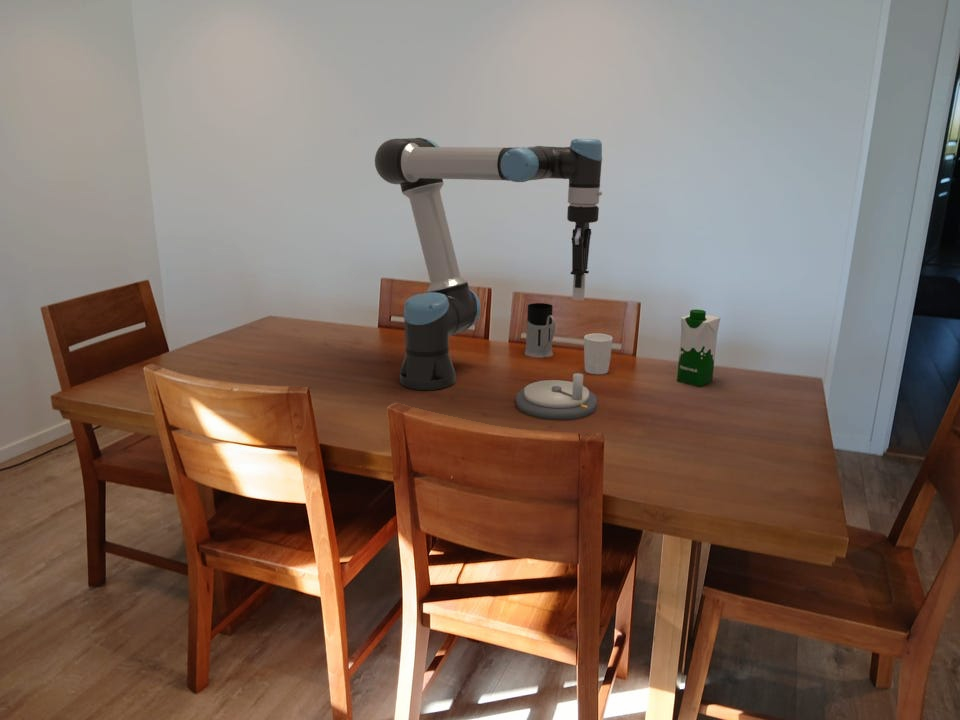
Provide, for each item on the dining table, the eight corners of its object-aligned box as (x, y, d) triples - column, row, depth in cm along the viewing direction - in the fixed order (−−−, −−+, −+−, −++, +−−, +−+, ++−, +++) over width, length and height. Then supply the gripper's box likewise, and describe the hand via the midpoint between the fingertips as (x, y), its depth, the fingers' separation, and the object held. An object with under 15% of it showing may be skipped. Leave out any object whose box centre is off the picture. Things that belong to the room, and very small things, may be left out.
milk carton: (672, 381, 198) (678, 310, 192) (688, 373, 205) (694, 304, 199) (701, 388, 193) (709, 315, 187) (717, 380, 199) (725, 309, 193)
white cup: (610, 376, 202) (612, 341, 199) (581, 374, 204) (583, 340, 201) (611, 367, 210) (613, 334, 207) (583, 365, 211) (585, 332, 208)
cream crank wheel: (510, 394, 182) (511, 366, 179) (556, 381, 191) (557, 354, 189) (556, 413, 170) (557, 383, 167) (602, 398, 179) (604, 369, 177)
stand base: (506, 413, 175) (506, 405, 174) (527, 387, 193) (527, 379, 193) (588, 424, 169) (589, 415, 168) (602, 395, 187) (603, 387, 187)
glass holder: (545, 348, 228) (546, 301, 224) (566, 361, 215) (568, 312, 211) (519, 351, 225) (520, 303, 221) (539, 364, 213) (540, 314, 208)
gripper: (594, 208, 170) (588, 306, 177) (603, 203, 182) (597, 295, 189) (562, 206, 172) (558, 303, 179) (573, 201, 184) (569, 293, 191)
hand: (578, 299), depth 184 cm, fingers closed
